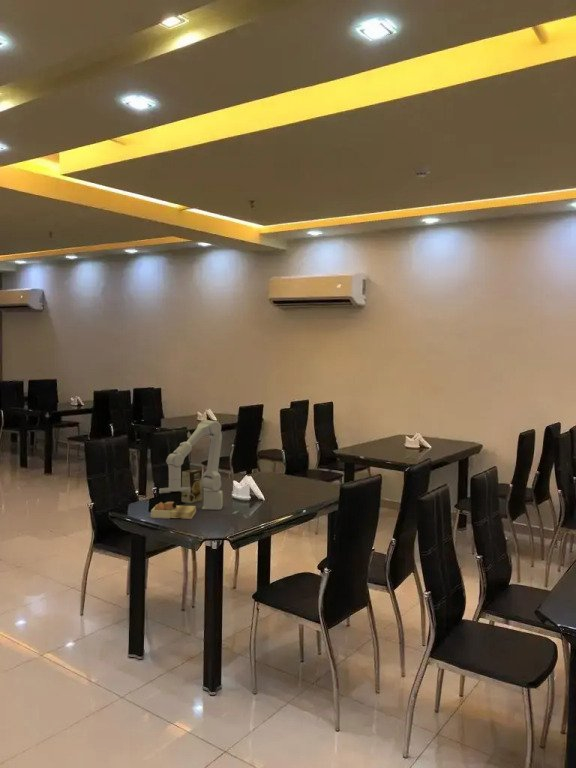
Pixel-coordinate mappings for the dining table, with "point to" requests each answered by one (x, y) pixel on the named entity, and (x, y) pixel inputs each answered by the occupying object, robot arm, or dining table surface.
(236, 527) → the dining table surface
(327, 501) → the dining table surface
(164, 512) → the tray
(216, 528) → the dining table surface
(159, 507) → the tile
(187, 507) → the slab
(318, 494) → the dining table surface
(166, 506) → the tile
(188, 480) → the coffee box
